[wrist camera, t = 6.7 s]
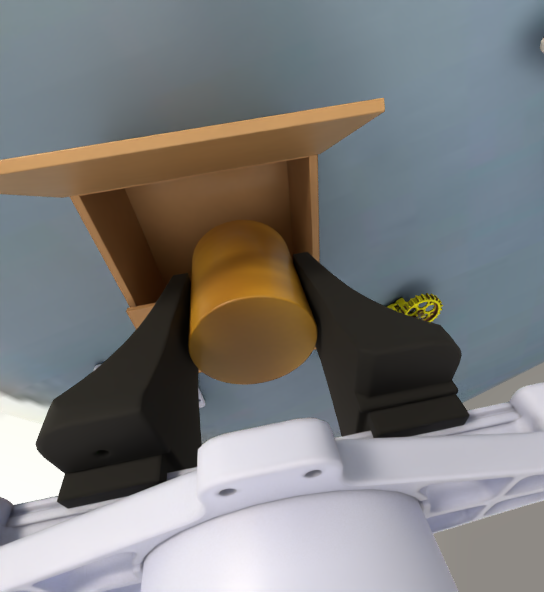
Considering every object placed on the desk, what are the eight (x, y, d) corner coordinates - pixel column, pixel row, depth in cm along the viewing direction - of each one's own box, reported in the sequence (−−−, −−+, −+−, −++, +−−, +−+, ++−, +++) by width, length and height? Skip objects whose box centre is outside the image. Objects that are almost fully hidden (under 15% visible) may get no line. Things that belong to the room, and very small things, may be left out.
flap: (61, 197, 13) (59, 190, 13) (320, 153, 14) (320, 146, 14) (-88, 189, 7) (-95, 175, 7) (385, 111, 8) (384, 97, 8)
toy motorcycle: (446, 303, 26) (467, 342, 30) (421, 274, 29) (444, 313, 33) (321, 375, 29) (356, 401, 34) (310, 343, 32) (344, 370, 37)
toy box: (101, 144, 18) (59, 195, 13) (288, 114, 19) (322, 151, 14) (171, 308, 27) (163, 380, 21) (300, 284, 27) (323, 348, 22)
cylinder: (285, 210, 13) (317, 284, 10) (292, 291, 16) (318, 372, 13) (179, 228, 13) (170, 311, 9) (205, 307, 16) (205, 394, 12)
